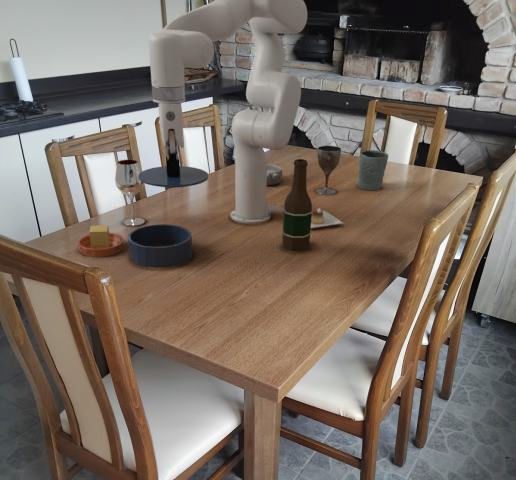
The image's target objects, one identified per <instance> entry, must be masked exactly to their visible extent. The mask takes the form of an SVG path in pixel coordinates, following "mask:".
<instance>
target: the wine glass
mask: <svg viewBox="0 0 516 480" xmlns="http://www.w3.org/2000/svg"><path fill="white" fill-rule="evenodd" d="M341 154H342V148H340V147H339V146H335V145H321V146H319V147H318V148H317V163H318V166H319V167H320V170H322V172H323V174H324V177H325V178H324V179H325V182H324V183H325V185H324V187H323V188H318V189H316V190H315V192H316V193H317V194H319V195H324V196H325V195H326V196H328V195H330V196H331V195H335V194H336V192H337V191H336V190H334V189H332V188H328V185H329V184H328V183H329V179H330V175H331V174H332V172H333V171H335V169H336V168H337V167H338V165H339V163H340V161H341V156H342V155H341Z"/></svg>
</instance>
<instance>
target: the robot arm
mask: <svg viewBox="0 0 516 480" xmlns="http://www.w3.org/2000/svg"><path fill="white" fill-rule="evenodd" d="M307 21H308V9H307V5H306V2H305V1H304V0H213V1H211V2H210V3H207V4H204V5H201V6H199V7H197V8H195V9H193V10H190V11H187V12H185V13H183V14H181V15H179V16H177V17H175V18H173V20H171V21H170V22H168V24H166V25H165V26H164V27H163V28H162V29H161V30H160V31H159V32H153V33H151V34H150V35H149V37H148V51H149V53H148V54H149V66H150V80H151V81H150V82H151V96H152V102H153V103H157V104H158V116H159V127H160V128H159V129H160V135H161V140H162V146H163V148H165V152H166V156H165V165H166V169H167V176H168V177H179V176H180V166H181V162H180V161H181V160H180V157H179V147H180V148H181V149H184V147H185V141H184V140H185V137H184V121H183V119H184V118H183V108H182V103H186V83H185V82H186V81H185V68H188V69H203V68H206V67H207V66H209V64H211V62H212V60H213V58H214V54H215V47H214V42H219V41H223V40H226V39H229V38H231V37H233V36H234V35H235V34H236V33H237V32H238V31H240V30H241V29H242V28H243V27H244V26H245V25H246V24H247V23H248V24H249V27H250V30H251V34H252V37H253V41H254V47H255V48H254V55H253V56H254V57H253V60H252V65H251V69H250V73H249V77H248V81H247V85H246V89H245V97H246V100H247V102H248V103H249V104H250V105H252V106H254V107H257V108H258V107H259V108H263V109H271V110H274V111H273V112H268V111H262V110H256V109H242V110H240V111H238V112H237V113H236V114H235V115H234V116H233V118H232V121H231V136H232V141H233V147H234V157H235V158H234V160H235V161H234V163H235V165H234V166H235V167H234V168H235V169H234V171H235V172H234V173H235V174H234V175H235V176H234V177H235V178H234V179H235V189H234V190H235V199H234V201H235V202H234V203H235V206H234V207H235V209H234V210H233V211H231V212H230V218H231V220H233V221H235V222H237V223H242V224H251V225H252V224H253V225H254V224H261V223H265V222H267V221H269V220H271V217H272V216H271V215H272V214H273V213H275V214H277V213H278V214H279V213H280V214H281V212H282V207H281V206H278V205H277V206H276V204H269V203H267V186H268V185H267V164H268V158H267V155H266V152H265V150H264V149H268V150H274V151H281V150H283V149H285V147H286V146H287V145H288V143H289V142H290V138H291V135H292V132H293V129H294V125H295V121H296V119H297V118H296V117H297V114H298V110H299V106H300V102H301V97H302V86H301V82H300V80H299V78H298V77H297V76H296V75H294V74H292V73H290V72H282V71H283V69H284V68H283V67H284V63H285V58H286V57H285V55H286V54H285V49H284V47H283V44H282V42H281V39H280V37H279V35H278V34H282V35H283V34H284V35H296V34H298V33H301V32H302V31H303V30H304V28H305V27H306V24H307Z"/></svg>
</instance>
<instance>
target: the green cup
mask: <svg viewBox="0 0 516 480" xmlns="http://www.w3.org/2000/svg"><path fill="white" fill-rule="evenodd" d="M389 156H390V155H389V153H387V152H385V151H381V150H373V149H368V150H362V151H360V153H359V166H358V167H359V169H358V173H359V174H358V180H357V186H358V188H359V189H361V190H365V191H378V190H380V189H382V186H383V181H384V176H385V170H386V167H387V163H388V159H389Z"/></svg>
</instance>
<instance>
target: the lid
mask: <svg viewBox="0 0 516 480" xmlns="http://www.w3.org/2000/svg"><path fill="white" fill-rule="evenodd" d="M209 177H210V175H209V173H208V171H206V170H204V169H202V168H198V167H193V166H183V165H180V176H179V177H168V176H167V169H166V166H165V165H163V166H156V167H152V168H151V167H150V168H147V169H144V170H141V173H139V175H138V179H139V180H140V181H141V182H143V183H144V185H148V186H153V187H160V188H169V189H170V188H187V187H192V186H197V185H201V184H203V183H205V182H206V181H208V180H209Z"/></svg>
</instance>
